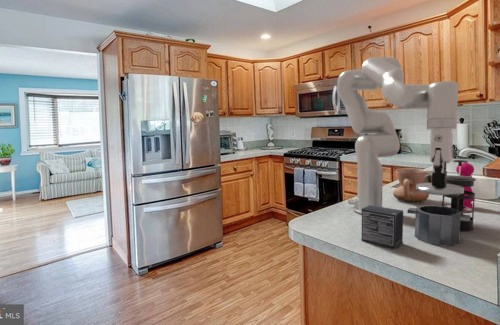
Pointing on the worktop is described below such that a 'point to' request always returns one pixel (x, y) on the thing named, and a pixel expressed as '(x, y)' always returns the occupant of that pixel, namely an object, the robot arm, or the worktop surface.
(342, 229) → the worktop surface
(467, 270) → the worktop surface
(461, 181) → the french press
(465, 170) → the pepper mill
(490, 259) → the worktop surface
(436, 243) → the pot
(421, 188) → the lid
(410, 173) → the ceramic jug
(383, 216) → the small box
